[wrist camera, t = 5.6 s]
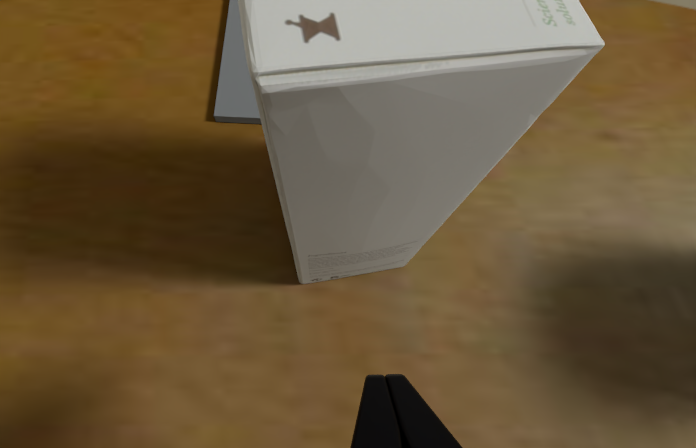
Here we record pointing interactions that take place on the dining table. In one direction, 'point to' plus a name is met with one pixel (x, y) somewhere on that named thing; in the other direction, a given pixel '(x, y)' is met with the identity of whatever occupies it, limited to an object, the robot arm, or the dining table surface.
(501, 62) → the skincare box
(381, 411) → the robot arm
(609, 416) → the dining table surface
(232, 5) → the mat
